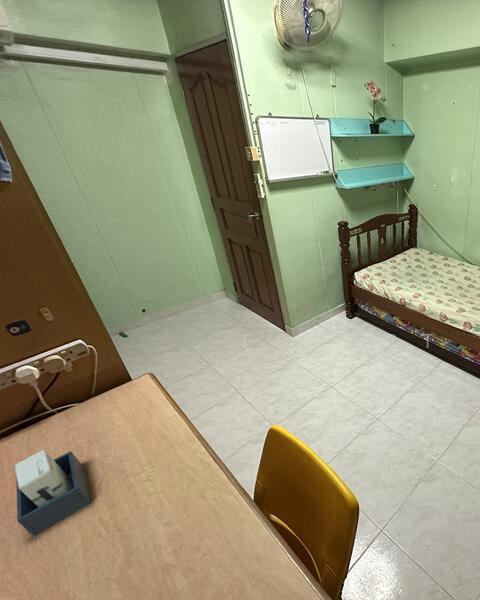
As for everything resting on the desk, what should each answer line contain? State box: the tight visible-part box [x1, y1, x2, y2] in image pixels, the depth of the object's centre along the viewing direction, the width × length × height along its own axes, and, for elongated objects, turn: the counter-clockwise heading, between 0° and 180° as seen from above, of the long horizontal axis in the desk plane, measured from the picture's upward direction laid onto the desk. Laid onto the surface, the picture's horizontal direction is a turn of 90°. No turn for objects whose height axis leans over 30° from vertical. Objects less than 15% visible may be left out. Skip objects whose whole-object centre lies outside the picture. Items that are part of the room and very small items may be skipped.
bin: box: [16, 451, 92, 537], centre depth 72 cm, size 9×13×6 cm
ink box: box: [14, 449, 73, 507], centre depth 70 cm, size 8×5×12 cm, turn 51°
